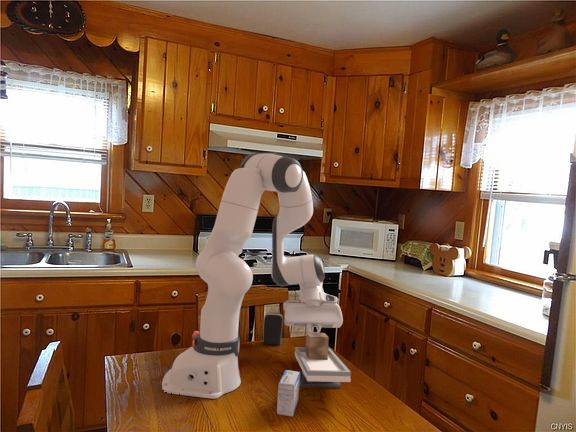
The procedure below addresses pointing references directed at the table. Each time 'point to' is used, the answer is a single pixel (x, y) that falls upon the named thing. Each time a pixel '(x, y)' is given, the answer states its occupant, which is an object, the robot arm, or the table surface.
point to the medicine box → (288, 393)
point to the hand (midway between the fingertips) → (314, 338)
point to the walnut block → (317, 346)
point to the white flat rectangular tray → (323, 367)
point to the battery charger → (272, 328)
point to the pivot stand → (317, 383)
